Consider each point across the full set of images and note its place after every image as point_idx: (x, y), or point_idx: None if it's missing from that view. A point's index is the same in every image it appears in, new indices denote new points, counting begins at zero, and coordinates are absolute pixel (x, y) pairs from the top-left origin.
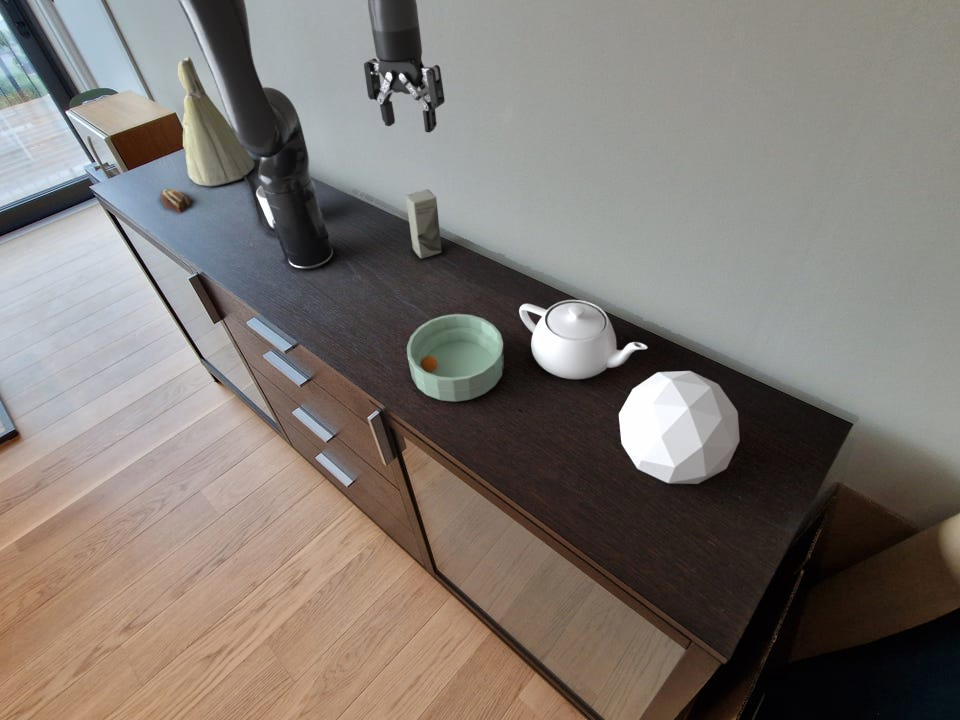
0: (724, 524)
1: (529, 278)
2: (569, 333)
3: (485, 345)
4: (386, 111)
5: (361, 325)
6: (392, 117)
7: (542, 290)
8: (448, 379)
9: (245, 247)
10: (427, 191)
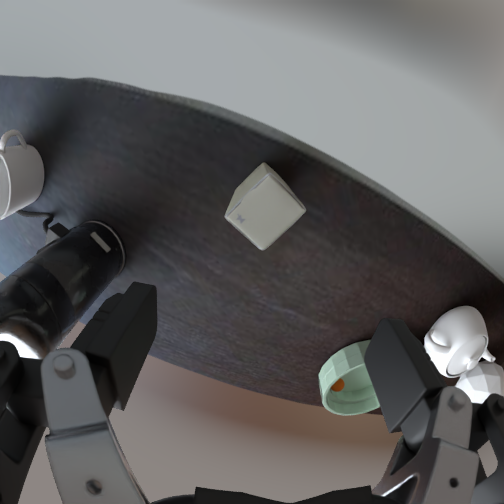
0: None
1: (424, 224)
2: (458, 372)
3: None
4: (134, 382)
5: (241, 349)
6: (145, 314)
7: (437, 245)
8: (363, 412)
9: (27, 248)
10: (274, 188)
